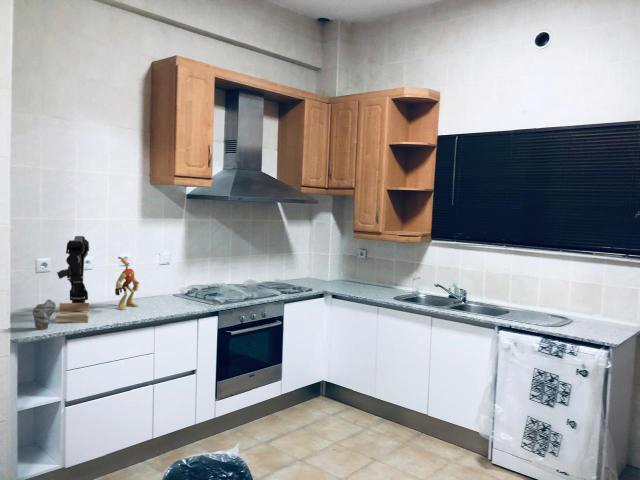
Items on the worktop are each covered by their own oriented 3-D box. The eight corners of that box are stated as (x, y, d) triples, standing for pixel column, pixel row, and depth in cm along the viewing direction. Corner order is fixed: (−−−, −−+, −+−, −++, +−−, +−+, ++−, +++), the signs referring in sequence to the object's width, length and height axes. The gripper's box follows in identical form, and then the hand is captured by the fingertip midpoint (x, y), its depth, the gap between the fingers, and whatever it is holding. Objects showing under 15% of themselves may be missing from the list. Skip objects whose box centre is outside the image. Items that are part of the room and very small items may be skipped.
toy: (120, 312, 299) (121, 259, 297) (107, 311, 301) (107, 258, 299) (142, 305, 322) (143, 255, 320) (129, 304, 324) (130, 255, 321)
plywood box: (58, 319, 278) (58, 311, 278) (89, 318, 283) (89, 310, 283) (55, 323, 269) (55, 315, 268) (87, 322, 274) (87, 314, 273)
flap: (59, 311, 278) (59, 311, 279) (88, 310, 283) (88, 310, 283) (59, 303, 279) (59, 303, 279) (88, 302, 283) (88, 302, 284)
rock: (31, 327, 259) (31, 296, 258) (43, 325, 264) (43, 295, 263) (43, 331, 252) (43, 300, 251) (55, 329, 256) (55, 299, 255)
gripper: (56, 262, 287) (56, 291, 288) (59, 266, 271) (59, 296, 272) (79, 262, 293) (78, 290, 293) (83, 265, 276) (83, 295, 277)
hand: (74, 293), depth 284 cm, fingers open, 9 cm apart
